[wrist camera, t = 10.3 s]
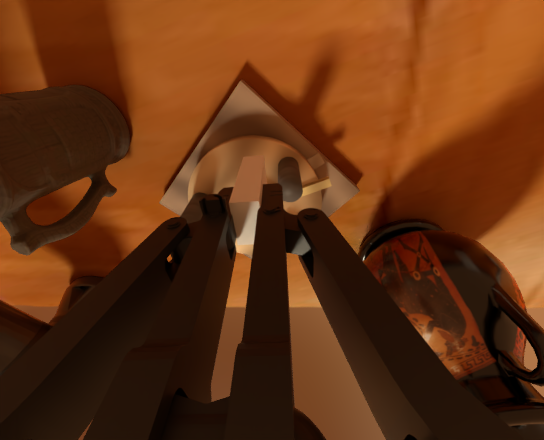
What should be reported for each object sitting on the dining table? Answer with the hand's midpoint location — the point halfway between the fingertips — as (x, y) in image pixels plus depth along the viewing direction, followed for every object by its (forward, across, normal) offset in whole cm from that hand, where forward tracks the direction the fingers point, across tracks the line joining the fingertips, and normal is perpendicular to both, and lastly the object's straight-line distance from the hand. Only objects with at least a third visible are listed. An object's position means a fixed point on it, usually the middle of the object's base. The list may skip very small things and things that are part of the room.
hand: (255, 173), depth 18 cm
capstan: (+16, -2, -11) cm, 20 cm away
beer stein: (+20, -24, -1) cm, 31 cm away
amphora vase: (+19, +24, -26) cm, 40 cm away
